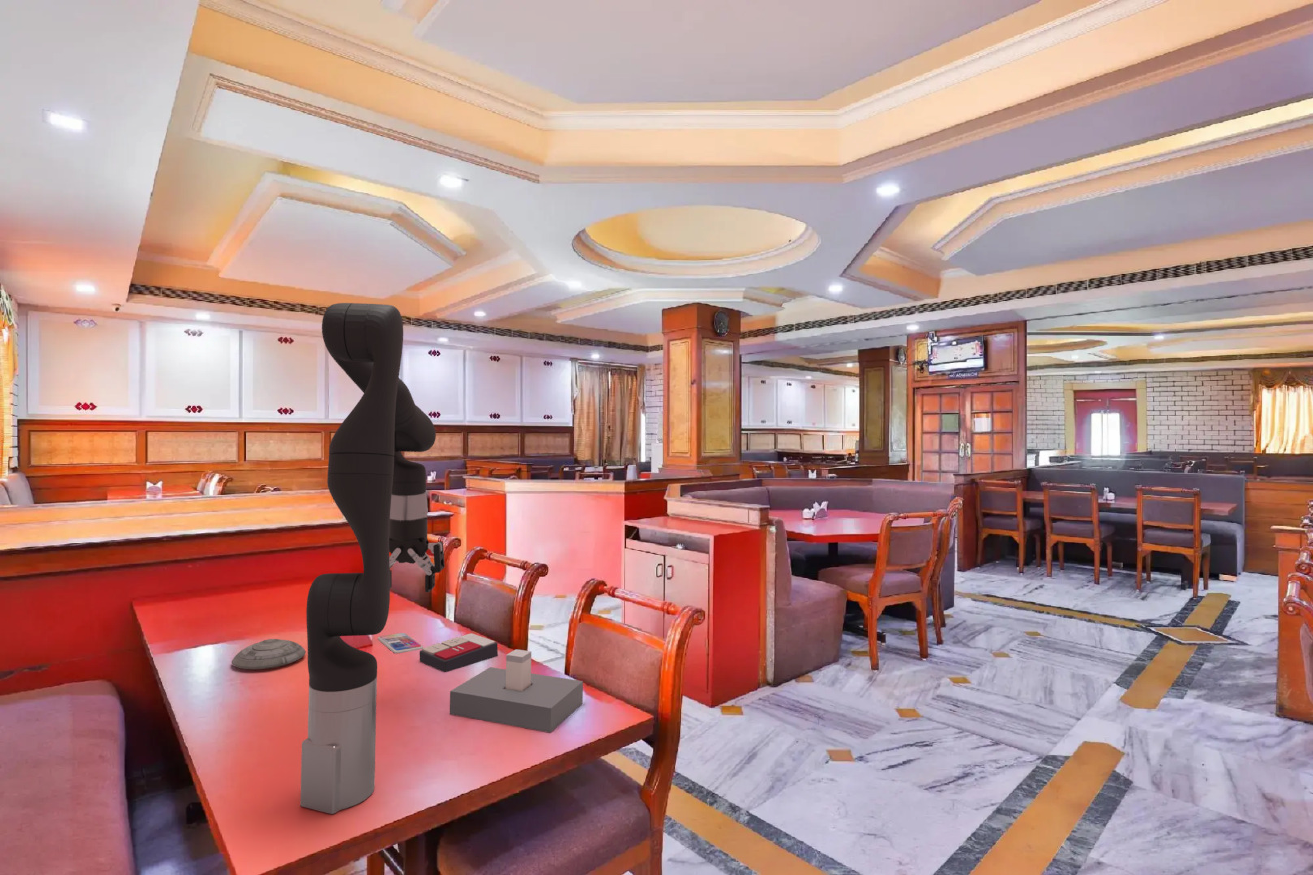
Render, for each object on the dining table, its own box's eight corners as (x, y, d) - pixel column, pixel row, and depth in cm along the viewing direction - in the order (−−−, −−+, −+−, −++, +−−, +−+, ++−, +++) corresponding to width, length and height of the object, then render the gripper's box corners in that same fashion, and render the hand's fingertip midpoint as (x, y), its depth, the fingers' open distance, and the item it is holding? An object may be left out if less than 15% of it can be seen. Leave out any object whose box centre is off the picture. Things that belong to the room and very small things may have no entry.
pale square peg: (521, 710, 124) (522, 657, 124) (505, 708, 125) (506, 654, 125) (530, 703, 128) (531, 651, 128) (514, 701, 129) (515, 649, 129)
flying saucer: (246, 679, 139) (247, 654, 139) (221, 663, 148) (221, 640, 148) (316, 661, 151) (317, 638, 151) (289, 648, 160) (289, 626, 160)
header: (550, 732, 116) (551, 708, 116) (449, 714, 123) (450, 691, 123) (582, 702, 130) (583, 681, 130) (489, 687, 136) (490, 667, 136)
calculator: (418, 647, 152) (471, 630, 163) (419, 665, 152) (472, 646, 163) (444, 658, 145) (498, 639, 156) (445, 676, 145) (498, 656, 157)
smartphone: (404, 631, 173) (424, 646, 161) (404, 635, 172) (424, 650, 161) (376, 636, 168) (394, 651, 156) (376, 639, 168) (394, 655, 156)
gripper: (364, 516, 125) (365, 595, 127) (436, 520, 125) (436, 598, 127) (381, 508, 133) (382, 582, 135) (448, 511, 133) (448, 585, 134)
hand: (408, 590), depth 131 cm, fingers open, 8 cm apart
